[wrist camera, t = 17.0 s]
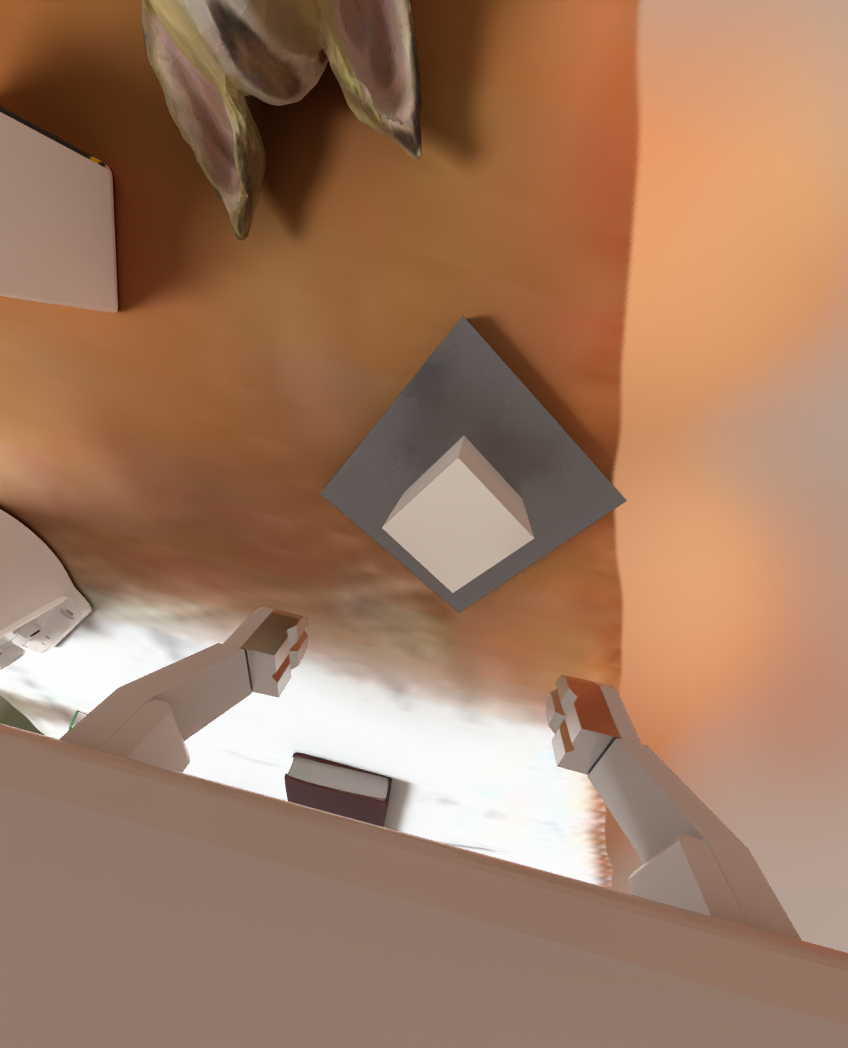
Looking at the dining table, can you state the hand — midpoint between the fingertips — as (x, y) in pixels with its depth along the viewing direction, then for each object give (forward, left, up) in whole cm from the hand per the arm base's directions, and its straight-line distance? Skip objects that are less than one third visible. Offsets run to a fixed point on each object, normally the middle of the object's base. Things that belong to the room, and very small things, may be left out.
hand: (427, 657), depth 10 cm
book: (-47, -23, -14) cm, 54 cm away
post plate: (+1, 0, -13) cm, 13 cm away
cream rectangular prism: (+1, 0, -12) cm, 12 cm away
